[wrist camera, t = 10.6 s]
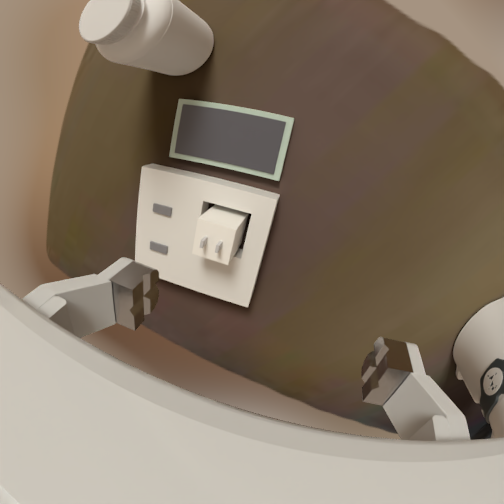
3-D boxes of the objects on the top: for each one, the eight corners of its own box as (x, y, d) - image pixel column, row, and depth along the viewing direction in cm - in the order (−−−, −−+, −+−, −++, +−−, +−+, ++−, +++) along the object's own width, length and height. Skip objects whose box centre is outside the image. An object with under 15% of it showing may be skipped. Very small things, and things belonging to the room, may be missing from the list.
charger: (249, 212, 33) (232, 234, 27) (241, 243, 35) (224, 270, 28) (216, 203, 33) (193, 222, 27) (210, 233, 35) (187, 258, 29)
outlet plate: (280, 194, 31) (277, 200, 29) (251, 296, 38) (247, 308, 35) (152, 163, 33) (140, 166, 30) (143, 261, 39) (133, 270, 36)
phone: (294, 118, 28) (294, 118, 27) (280, 179, 31) (278, 181, 30) (184, 99, 29) (178, 98, 28) (174, 155, 32) (168, 156, 31)
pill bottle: (149, 77, 28) (59, 64, 15) (160, 21, 25) (80, -17, 11) (209, 78, 27) (134, 49, 14) (221, 17, 24) (159, -41, 11)
